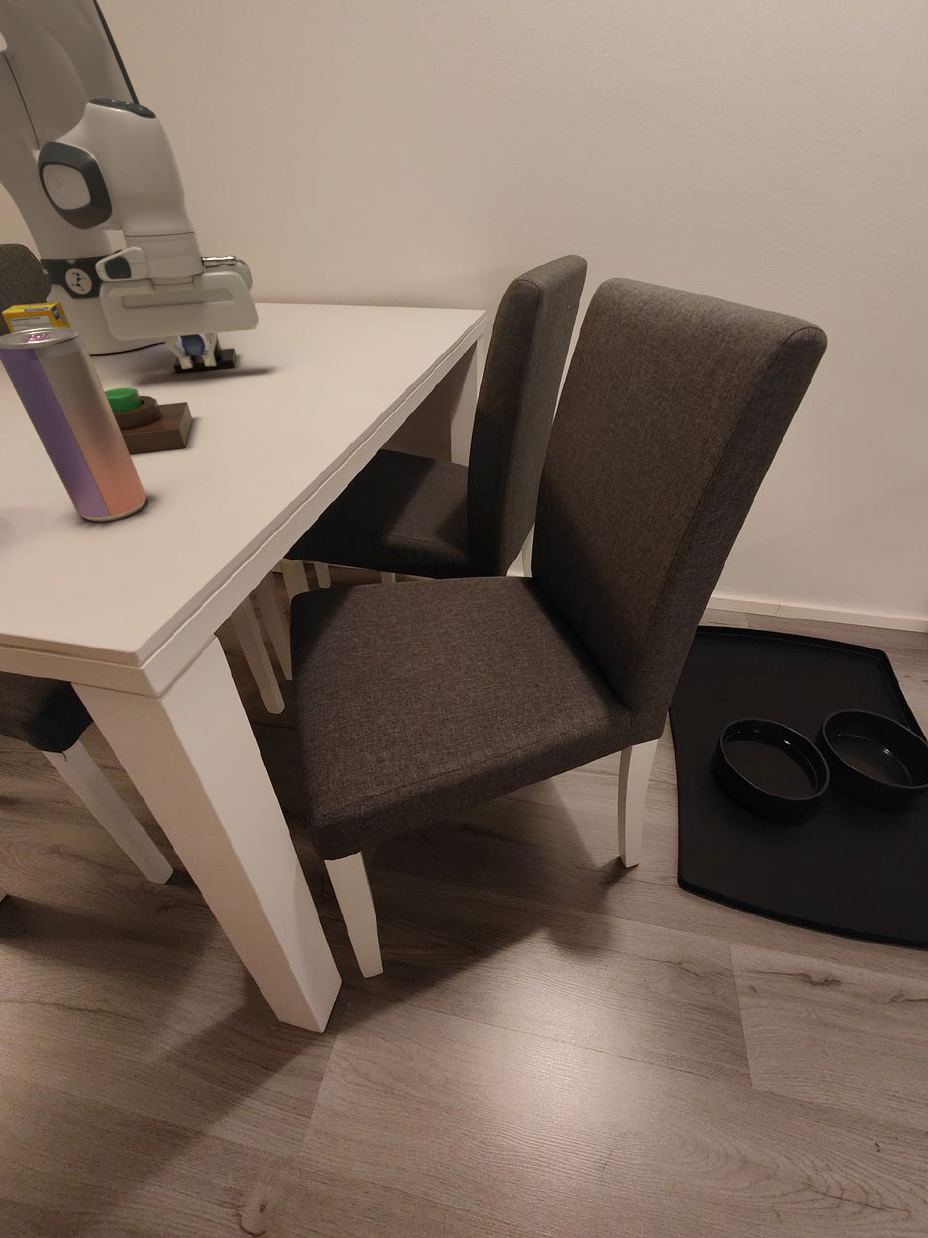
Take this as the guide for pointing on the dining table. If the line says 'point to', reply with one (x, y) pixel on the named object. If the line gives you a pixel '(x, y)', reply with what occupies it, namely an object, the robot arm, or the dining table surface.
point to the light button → (123, 399)
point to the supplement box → (35, 316)
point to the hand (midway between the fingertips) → (199, 366)
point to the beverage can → (73, 420)
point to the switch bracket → (222, 357)
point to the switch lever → (193, 344)
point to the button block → (154, 426)
